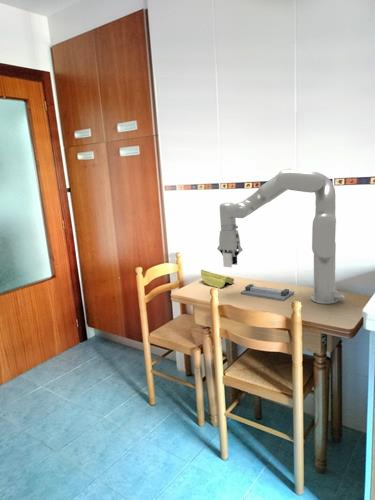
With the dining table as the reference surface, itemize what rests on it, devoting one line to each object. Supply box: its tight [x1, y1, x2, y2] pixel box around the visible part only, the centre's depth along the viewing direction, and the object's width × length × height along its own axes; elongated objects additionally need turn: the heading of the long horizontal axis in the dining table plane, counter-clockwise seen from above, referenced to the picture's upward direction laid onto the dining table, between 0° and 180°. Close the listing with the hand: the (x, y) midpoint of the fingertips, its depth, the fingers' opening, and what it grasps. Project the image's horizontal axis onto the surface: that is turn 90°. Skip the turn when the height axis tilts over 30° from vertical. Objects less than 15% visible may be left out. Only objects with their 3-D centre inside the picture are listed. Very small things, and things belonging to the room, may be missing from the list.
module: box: [222, 250, 238, 268], centre depth 197 cm, size 4×6×8 cm
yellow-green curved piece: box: [200, 269, 235, 289], centre depth 223 cm, size 20×7×10 cm
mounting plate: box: [239, 286, 295, 302], centre depth 198 cm, size 24×12×1 cm, turn 52°
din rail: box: [244, 283, 290, 296], centre depth 198 cm, size 22×5×2 cm, turn 52°
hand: (230, 263), depth 197 cm, fingers closed on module, 4 cm apart
